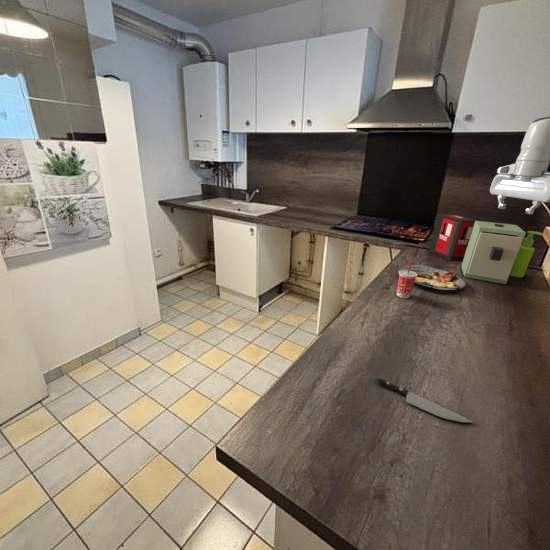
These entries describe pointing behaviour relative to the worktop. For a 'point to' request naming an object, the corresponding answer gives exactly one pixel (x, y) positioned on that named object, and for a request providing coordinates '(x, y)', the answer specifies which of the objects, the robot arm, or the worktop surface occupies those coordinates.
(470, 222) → the cleaning product box
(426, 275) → the food plate
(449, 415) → the chef's knife
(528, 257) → the soap dispenser
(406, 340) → the worktop surface
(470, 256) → the box
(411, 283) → the beverage cup
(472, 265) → the basket
